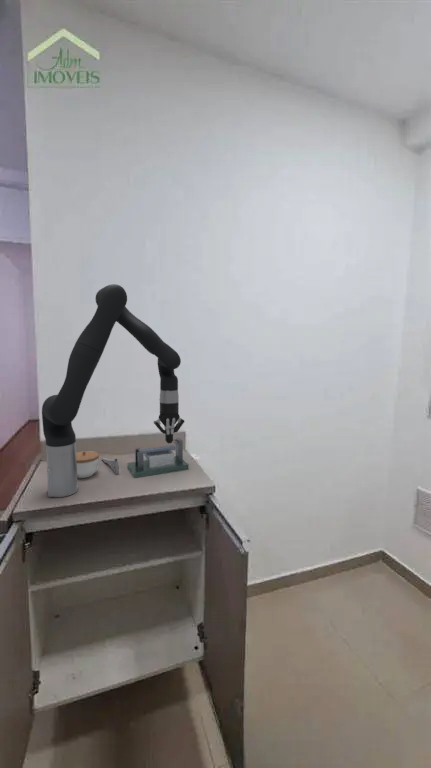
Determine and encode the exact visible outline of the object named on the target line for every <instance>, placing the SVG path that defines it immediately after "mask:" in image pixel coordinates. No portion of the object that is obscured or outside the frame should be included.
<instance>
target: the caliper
mask: <svg viewBox="0 0 431 768" xmlns="http://www.w3.org/2000/svg"><path fill="white" fill-rule="evenodd" d="M101 459H102V460H103V461H104V462H103V461H102V460H101V461H102V462H103V463H105V464H108V465H110V467H111V468H113V471H114V474H115V475H119V474H120V468H119V467H120V466H119V461H118V458H117V457H114V458H113V459H109V458H106V457H102V458H101Z"/></svg>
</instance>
